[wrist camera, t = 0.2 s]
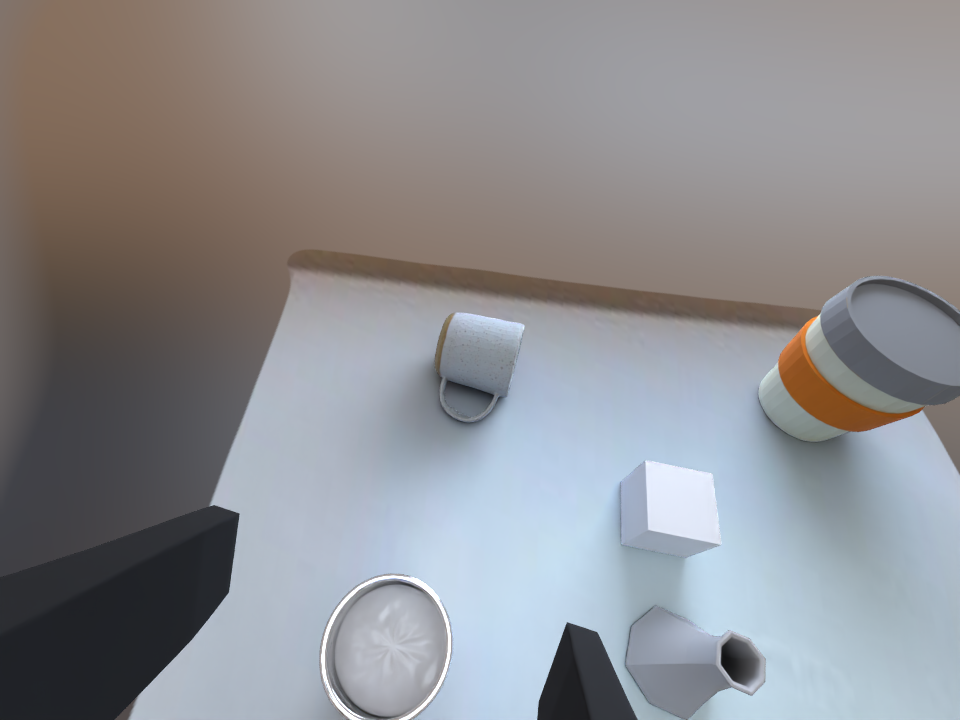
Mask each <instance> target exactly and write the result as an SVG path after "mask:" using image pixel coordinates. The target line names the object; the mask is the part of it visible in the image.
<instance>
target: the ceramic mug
mask: <svg viewBox="0 0 960 720" xmlns="http://www.w3.org/2000/svg"><path fill="white" fill-rule="evenodd" d="M523 332H524V325H523V324H521V323H515V322H509V321H504V320H500V319H495V318H489V317H483V316H479V315H475V314H469V313H452V314H451V315H449V316H448V317H447V319H446V320H445V322H444V324H443V327H442V330H441V333H440V336H439V340H438V344H437V349H436V355H435V369H436V372H437V373H438V374H439V375H440V376H441V377H442V381H441V385H440V392H439V393H440V401H441V404H442V406H443V408H444V410H445V411H446V412H447V413H448V414H449V415H450V416H451V417H453V418H455V419H457V420H459V421H463V422H475V421H479V420H481V419H482V418H484V417H485V416H486V415H487V414H488V413H489V412H490V411H491V410H492V408H493V407H494V405H495V403H496V402H497V399H498V397H499V396H501V397H507V395H508V392H509V389H510V384H511V381H512V377H513V373H514V369H515V366H516V361H517V358H518V354H519V350H520V345H521V340H522V336H523ZM448 380H449V381H452V382H455V383H459V384H462V385H466V386H470V387H473V388H476V389H478V390H481V391H485V392H487V393H491V394H494V398H493V400H492V402H491V403H490V404H489V406H488V407H487V408H486V409H485V410H484V411H483V412H481V413H480V414H478V415H476V416H474V417H470V416H467V415H464V414H462V413H459V412H458V411H456V409H455V408H452V407H450V406H449V405H448V404H447V403H446V401H445V387H446V383H447V381H448Z"/></svg>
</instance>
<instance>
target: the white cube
mask: <svg viewBox="0 0 960 720" xmlns="http://www.w3.org/2000/svg"><path fill="white" fill-rule="evenodd" d="M621 545H624V546H629V547H634V548H639V549H644V550H649V551H654V552H659V553H664V554H669V555H673V556H678V557H683V558H687V557H689V556H692V555H695V554H698V553H701V552H703V551H706V550H709V549H712V548H714V547H717V546H720V545H722V544H721V536H720V528H719V520H718V512H717V505H716V497H715V489H714V481H713V474H712V473H707V472H702V471H697V470H692V469H687V468H682V467H677V466H672V465H667V464H663V463H658V462H653V461H648V460H645V461H644V462H643V463H642V464H640V465H639V466H638V467H637V468H636V469H635V470H634V471H632V472H631V473H630V474H629V475H628V476H627V477H626V478H624V479H623V480H622V481H621Z"/></svg>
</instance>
